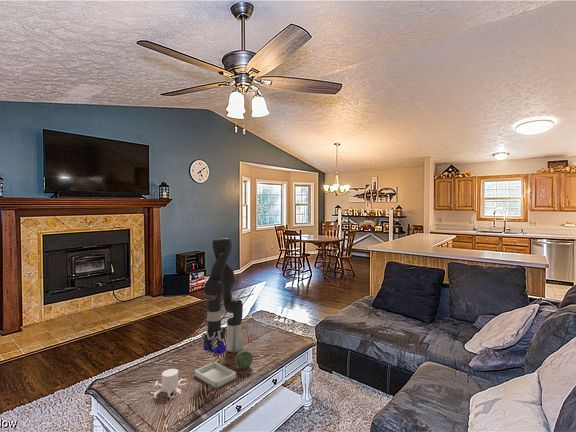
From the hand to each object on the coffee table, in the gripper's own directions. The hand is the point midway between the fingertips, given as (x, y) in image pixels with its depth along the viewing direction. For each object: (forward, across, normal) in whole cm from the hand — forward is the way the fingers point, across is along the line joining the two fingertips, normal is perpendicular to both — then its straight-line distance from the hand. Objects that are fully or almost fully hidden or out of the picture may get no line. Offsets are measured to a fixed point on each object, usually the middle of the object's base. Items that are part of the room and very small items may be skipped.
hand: (214, 348), depth 173 cm
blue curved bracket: (+1, 0, 0) cm, 1 cm away
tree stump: (+16, +21, -9) cm, 28 cm away
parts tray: (+15, 0, 0) cm, 15 cm away
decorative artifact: (+16, -16, +6) cm, 23 cm away
